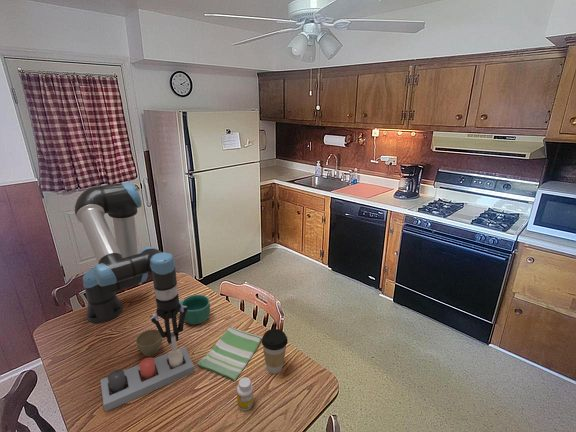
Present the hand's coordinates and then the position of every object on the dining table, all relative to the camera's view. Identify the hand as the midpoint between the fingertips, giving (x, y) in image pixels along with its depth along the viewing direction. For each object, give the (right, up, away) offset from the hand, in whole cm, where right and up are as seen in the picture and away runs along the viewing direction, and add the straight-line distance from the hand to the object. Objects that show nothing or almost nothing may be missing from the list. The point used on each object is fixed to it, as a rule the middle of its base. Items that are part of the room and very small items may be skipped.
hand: (174, 348), depth 118 cm
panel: (-8, -10, -2) cm, 14 cm away
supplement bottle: (+29, -15, -11) cm, 34 cm away
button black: (-17, -11, -8) cm, 21 cm away
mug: (-2, +1, +31) cm, 31 cm away
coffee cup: (+38, -9, +4) cm, 39 cm away
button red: (-8, -9, -3) cm, 12 cm away
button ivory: (0, -8, +3) cm, 9 cm away
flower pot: (-13, -6, +11) cm, 18 cm away
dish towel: (+20, -7, +11) cm, 24 cm away
